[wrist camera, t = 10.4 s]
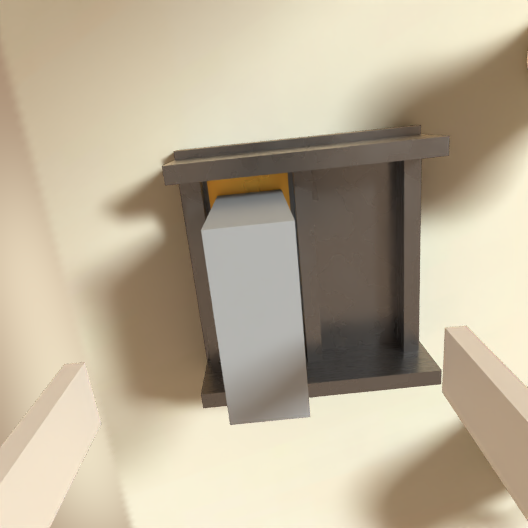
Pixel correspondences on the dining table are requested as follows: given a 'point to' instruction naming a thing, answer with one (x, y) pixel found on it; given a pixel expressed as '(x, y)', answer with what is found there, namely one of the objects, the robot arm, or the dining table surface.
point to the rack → (330, 248)
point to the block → (257, 306)
